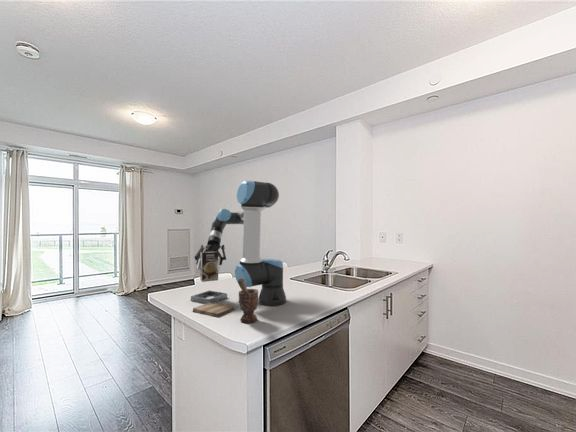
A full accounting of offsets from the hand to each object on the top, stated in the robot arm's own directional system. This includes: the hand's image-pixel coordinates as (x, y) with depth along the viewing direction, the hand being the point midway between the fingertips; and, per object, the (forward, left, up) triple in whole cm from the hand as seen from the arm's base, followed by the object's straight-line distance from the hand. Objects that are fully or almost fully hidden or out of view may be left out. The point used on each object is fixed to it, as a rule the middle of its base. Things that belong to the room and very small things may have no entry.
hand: (207, 269), depth 150 cm
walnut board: (-15, +11, -17) cm, 25 cm away
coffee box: (+1, -3, -7) cm, 7 cm away
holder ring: (+1, -2, -17) cm, 18 cm away
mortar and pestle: (-39, +15, -18) cm, 45 cm away
